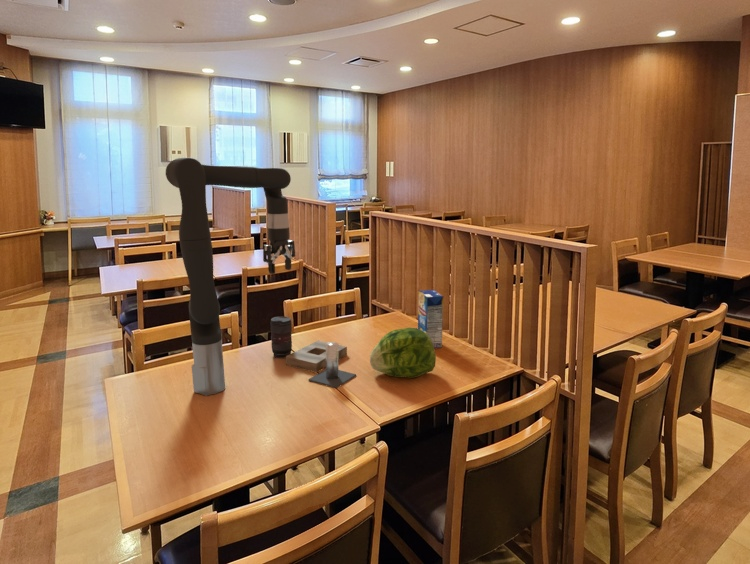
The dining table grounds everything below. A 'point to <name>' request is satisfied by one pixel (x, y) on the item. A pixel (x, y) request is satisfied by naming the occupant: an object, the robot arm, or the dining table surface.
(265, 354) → the dining table surface
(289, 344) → the camera lens
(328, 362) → the canister
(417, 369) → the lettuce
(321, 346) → the holder
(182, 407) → the dining table surface
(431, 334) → the beverage box
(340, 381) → the mat
